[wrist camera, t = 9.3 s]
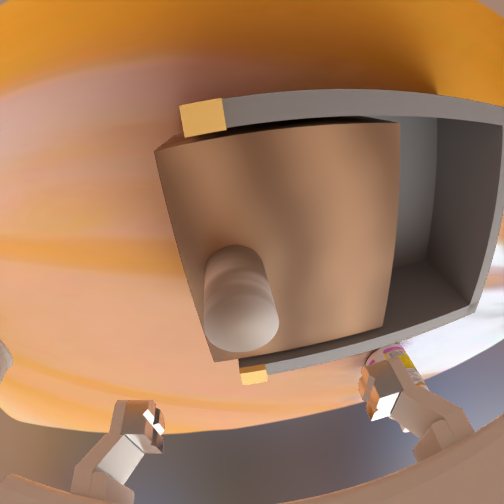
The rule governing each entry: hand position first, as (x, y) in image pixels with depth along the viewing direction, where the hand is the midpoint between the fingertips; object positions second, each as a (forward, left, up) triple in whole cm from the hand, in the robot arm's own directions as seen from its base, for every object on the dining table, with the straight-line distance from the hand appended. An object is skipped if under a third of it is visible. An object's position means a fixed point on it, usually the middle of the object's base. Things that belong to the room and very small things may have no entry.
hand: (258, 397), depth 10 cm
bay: (-11, 0, -19) cm, 21 cm away
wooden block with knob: (-4, 0, -17) cm, 18 cm away
